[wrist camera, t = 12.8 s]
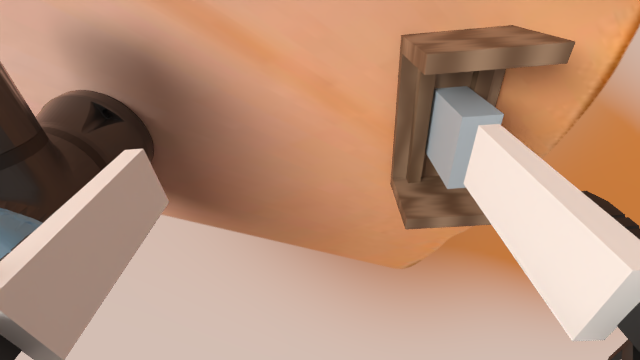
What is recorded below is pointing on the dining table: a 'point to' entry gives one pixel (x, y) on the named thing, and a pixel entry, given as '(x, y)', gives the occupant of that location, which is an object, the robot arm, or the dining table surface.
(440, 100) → the plain grey rectangular block
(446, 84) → the track base
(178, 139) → the dining table surface
